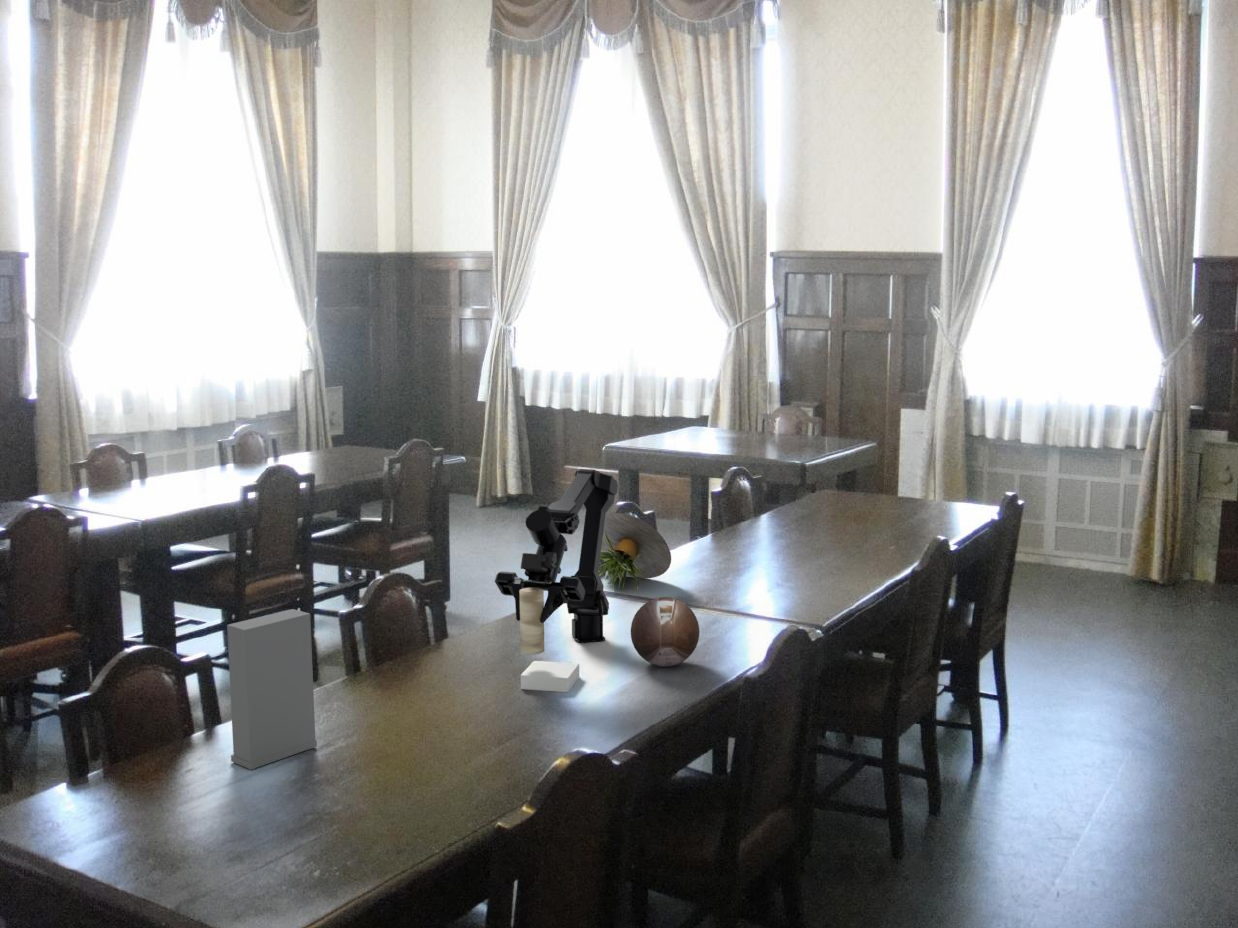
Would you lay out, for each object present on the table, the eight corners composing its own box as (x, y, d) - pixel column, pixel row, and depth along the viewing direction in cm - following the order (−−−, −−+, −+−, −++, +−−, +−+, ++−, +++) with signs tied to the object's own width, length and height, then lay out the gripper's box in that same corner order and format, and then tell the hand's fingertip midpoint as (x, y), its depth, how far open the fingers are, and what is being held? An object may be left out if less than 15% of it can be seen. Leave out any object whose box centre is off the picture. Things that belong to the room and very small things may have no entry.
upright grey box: (296, 740, 228) (290, 607, 225) (316, 747, 224) (311, 613, 221) (230, 762, 218) (223, 624, 214) (250, 771, 214) (244, 630, 210)
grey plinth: (534, 674, 266) (533, 660, 265) (579, 677, 264) (579, 663, 263) (520, 688, 256) (520, 674, 256) (567, 692, 254) (567, 677, 254)
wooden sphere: (641, 678, 263) (641, 609, 261) (622, 657, 277) (622, 592, 275) (708, 672, 267) (709, 604, 265) (686, 652, 281) (686, 587, 279)
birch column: (533, 645, 264) (532, 586, 262) (549, 650, 260) (548, 590, 258) (515, 650, 260) (514, 590, 258) (531, 655, 257) (530, 594, 255)
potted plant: (578, 603, 352) (554, 551, 334) (605, 555, 361) (583, 502, 343) (656, 625, 341) (635, 572, 323) (682, 575, 350) (663, 521, 332)
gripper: (497, 534, 263) (476, 597, 255) (579, 539, 257) (561, 604, 249) (512, 562, 272) (492, 624, 263) (592, 568, 266) (575, 632, 257)
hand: (529, 621), depth 258 cm, fingers closed on birch column, 5 cm apart
